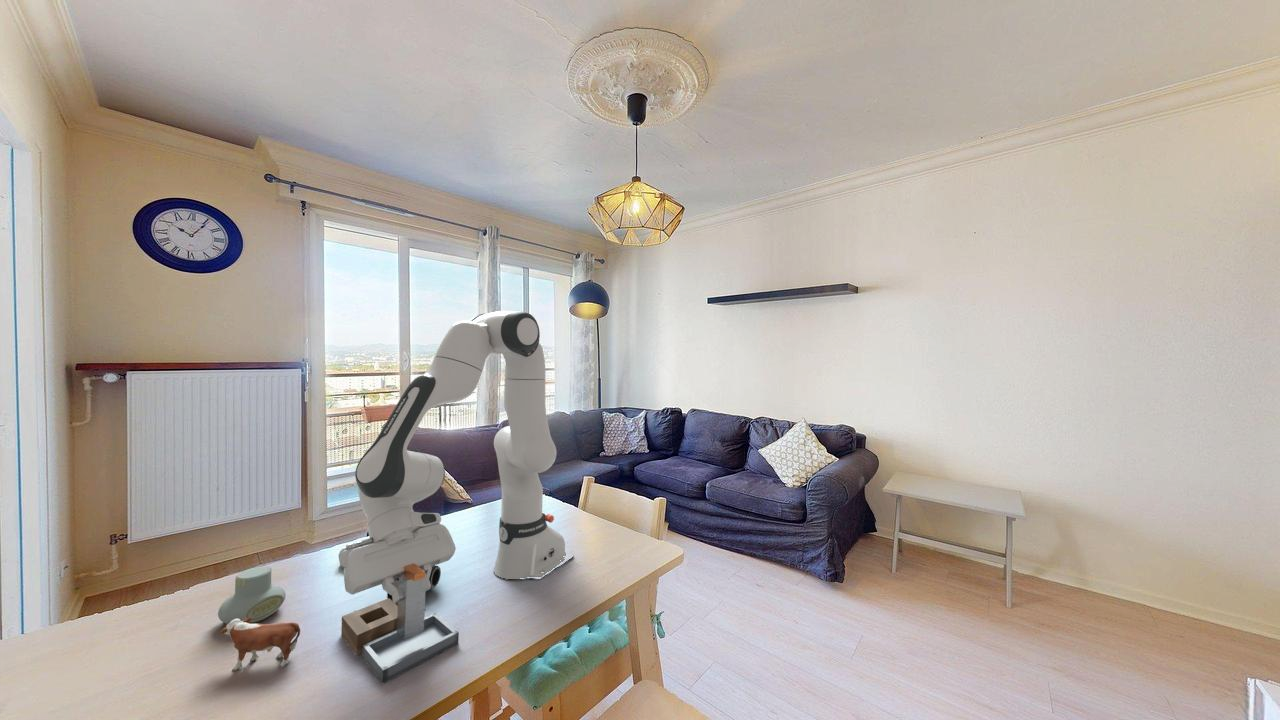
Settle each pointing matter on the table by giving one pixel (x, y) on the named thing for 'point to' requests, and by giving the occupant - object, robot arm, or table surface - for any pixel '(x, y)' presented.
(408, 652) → the tray
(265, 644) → the bull figurine
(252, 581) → the air freshener
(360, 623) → the hitch block
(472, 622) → the table surface
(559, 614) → the table surface
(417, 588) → the orange-topped grey block
